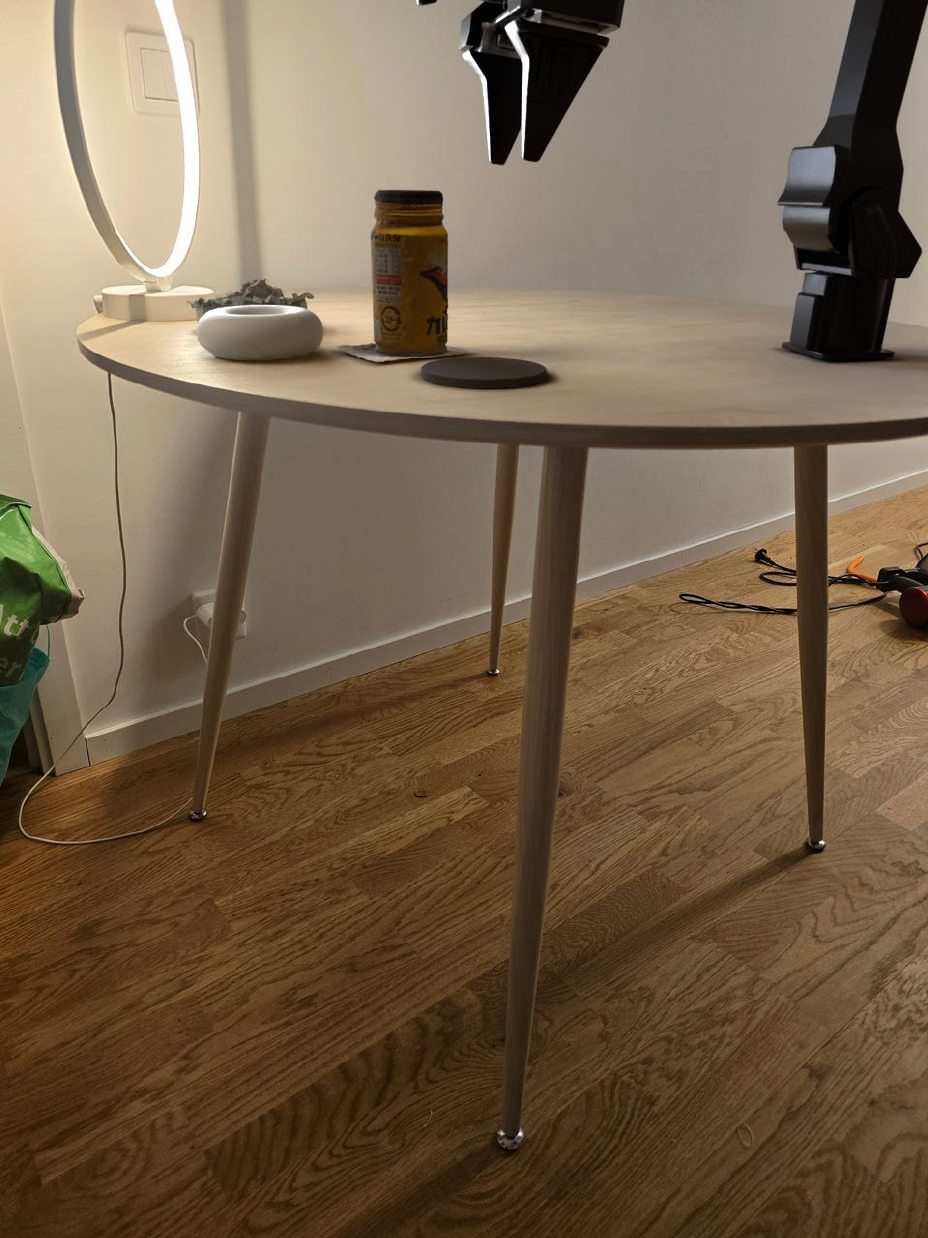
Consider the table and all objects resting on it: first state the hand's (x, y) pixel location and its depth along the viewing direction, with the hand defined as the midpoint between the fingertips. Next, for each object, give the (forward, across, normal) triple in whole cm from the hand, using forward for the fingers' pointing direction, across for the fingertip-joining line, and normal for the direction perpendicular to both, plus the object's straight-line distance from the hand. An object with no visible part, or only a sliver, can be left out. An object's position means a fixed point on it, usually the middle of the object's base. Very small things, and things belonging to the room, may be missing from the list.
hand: (512, 162), depth 62 cm
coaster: (+14, +4, -1) cm, 15 cm away
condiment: (+15, -7, -5) cm, 17 cm away
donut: (+16, -8, -16) cm, 24 cm away
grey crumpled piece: (+16, -22, -17) cm, 32 cm away
